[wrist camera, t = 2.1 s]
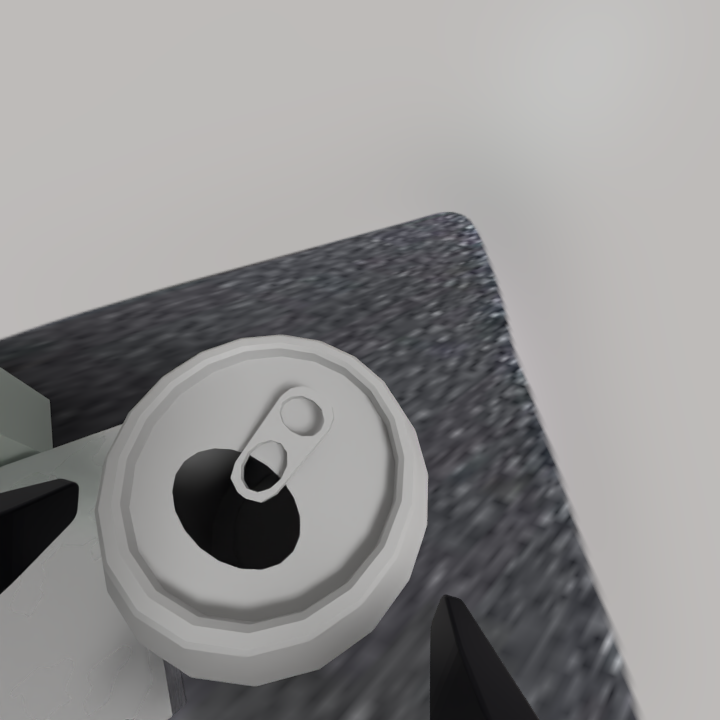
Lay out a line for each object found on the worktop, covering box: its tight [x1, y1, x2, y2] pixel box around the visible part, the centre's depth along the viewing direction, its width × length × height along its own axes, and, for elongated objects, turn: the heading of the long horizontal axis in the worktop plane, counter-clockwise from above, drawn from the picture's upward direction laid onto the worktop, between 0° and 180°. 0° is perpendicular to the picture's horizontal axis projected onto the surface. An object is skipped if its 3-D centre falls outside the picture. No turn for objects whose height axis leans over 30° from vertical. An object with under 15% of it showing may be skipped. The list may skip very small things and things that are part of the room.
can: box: [95, 335, 428, 686], centre depth 12 cm, size 8×8×12 cm
